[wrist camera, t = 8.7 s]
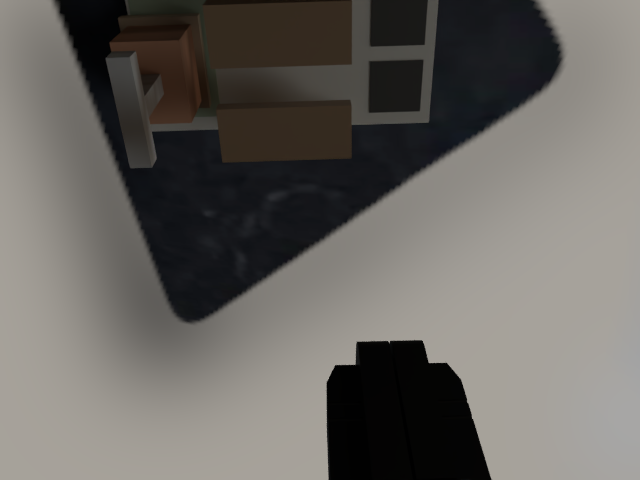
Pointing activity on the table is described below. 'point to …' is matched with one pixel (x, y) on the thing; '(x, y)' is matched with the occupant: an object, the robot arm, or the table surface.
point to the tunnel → (307, 71)
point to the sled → (156, 77)
